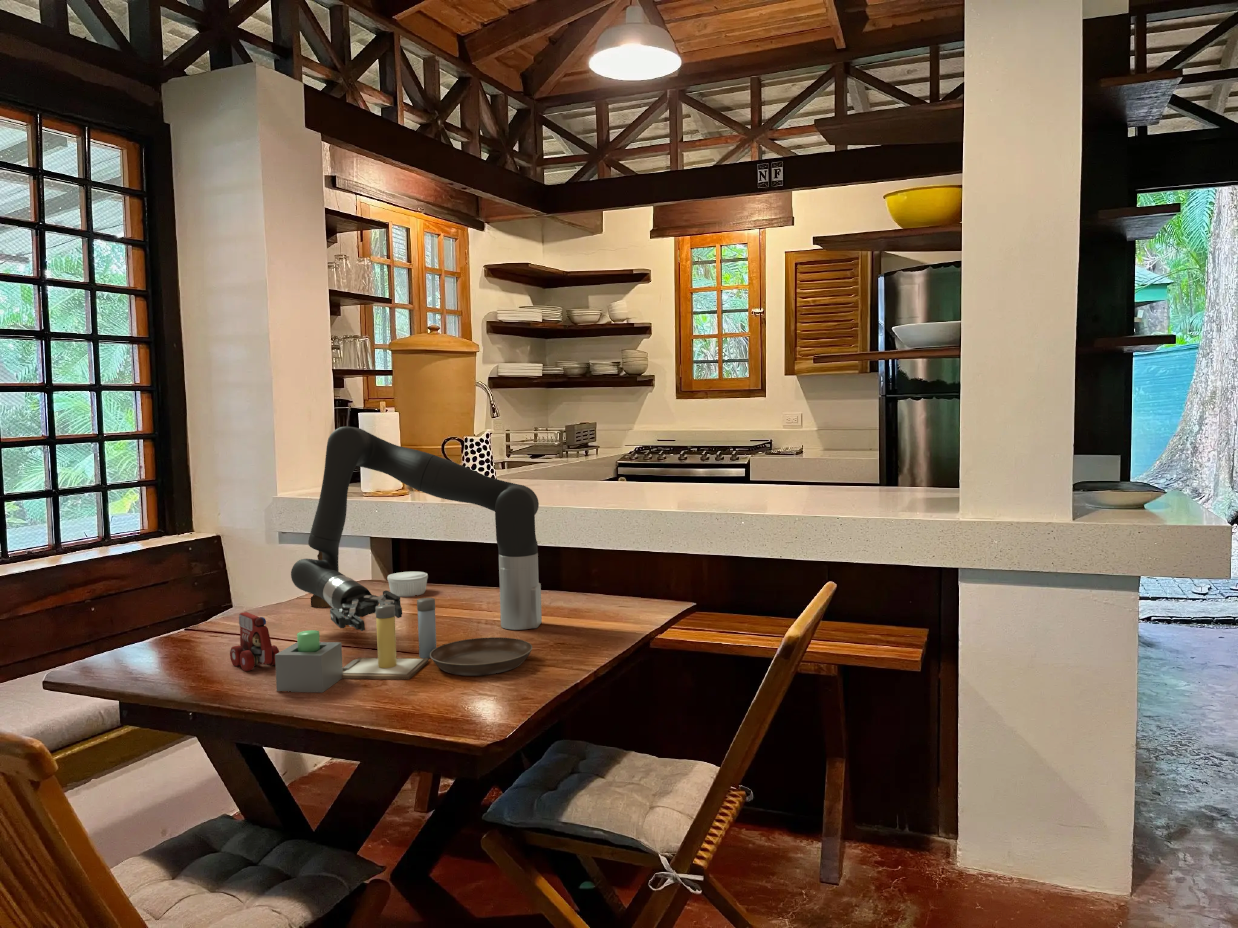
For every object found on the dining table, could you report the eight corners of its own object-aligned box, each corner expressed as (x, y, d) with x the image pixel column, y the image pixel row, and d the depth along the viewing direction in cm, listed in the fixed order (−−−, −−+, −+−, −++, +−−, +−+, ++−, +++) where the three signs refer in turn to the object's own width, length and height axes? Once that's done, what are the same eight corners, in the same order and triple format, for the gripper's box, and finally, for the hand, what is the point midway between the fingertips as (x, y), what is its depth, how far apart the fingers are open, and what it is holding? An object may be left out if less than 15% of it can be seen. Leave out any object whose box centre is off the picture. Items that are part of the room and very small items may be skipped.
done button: (323, 650, 174) (322, 630, 174) (314, 656, 170) (313, 635, 170) (303, 650, 175) (303, 630, 174) (294, 656, 171) (293, 635, 170)
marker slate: (439, 653, 193) (437, 597, 192) (433, 658, 189) (431, 601, 188) (422, 653, 193) (420, 597, 192) (416, 658, 189) (414, 601, 188)
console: (342, 677, 177) (341, 642, 176) (322, 692, 168) (321, 655, 167) (299, 676, 178) (297, 641, 177) (276, 691, 169) (274, 654, 169)
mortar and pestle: (341, 604, 242) (338, 537, 240) (318, 608, 237) (315, 540, 236) (328, 601, 246) (325, 535, 245) (306, 605, 241) (303, 538, 240)
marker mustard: (399, 662, 183) (397, 604, 182) (392, 668, 179) (390, 608, 179) (382, 662, 184) (379, 604, 183) (375, 668, 180) (372, 608, 179)
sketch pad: (428, 661, 187) (428, 656, 187) (408, 679, 175) (408, 673, 175) (358, 660, 188) (358, 655, 188) (334, 678, 177) (334, 672, 177)
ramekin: (418, 598, 248) (417, 579, 247) (380, 597, 250) (380, 578, 250) (434, 589, 259) (434, 571, 258) (398, 588, 261) (397, 570, 261)
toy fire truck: (251, 675, 180) (248, 623, 179) (227, 662, 189) (224, 613, 188) (285, 667, 185) (283, 617, 184) (260, 655, 194) (257, 608, 193)
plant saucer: (413, 663, 186) (412, 647, 186) (500, 645, 199) (500, 630, 199) (460, 687, 170) (459, 670, 170) (552, 666, 183) (551, 650, 182)
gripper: (314, 590, 197) (348, 614, 185) (374, 571, 206) (410, 593, 194) (318, 621, 199) (352, 647, 187) (377, 601, 208) (413, 625, 197)
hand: (381, 619), depth 191 cm, fingers open, 8 cm apart
